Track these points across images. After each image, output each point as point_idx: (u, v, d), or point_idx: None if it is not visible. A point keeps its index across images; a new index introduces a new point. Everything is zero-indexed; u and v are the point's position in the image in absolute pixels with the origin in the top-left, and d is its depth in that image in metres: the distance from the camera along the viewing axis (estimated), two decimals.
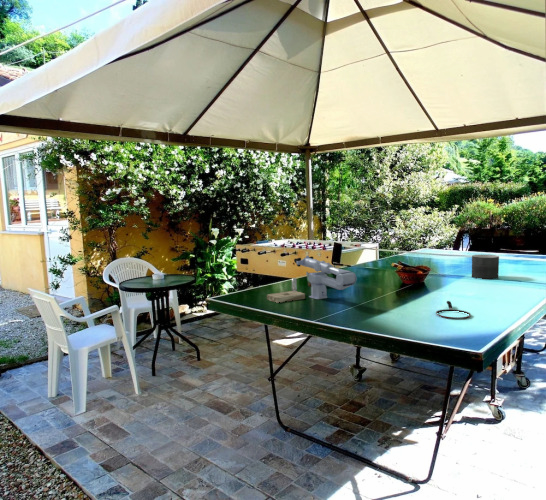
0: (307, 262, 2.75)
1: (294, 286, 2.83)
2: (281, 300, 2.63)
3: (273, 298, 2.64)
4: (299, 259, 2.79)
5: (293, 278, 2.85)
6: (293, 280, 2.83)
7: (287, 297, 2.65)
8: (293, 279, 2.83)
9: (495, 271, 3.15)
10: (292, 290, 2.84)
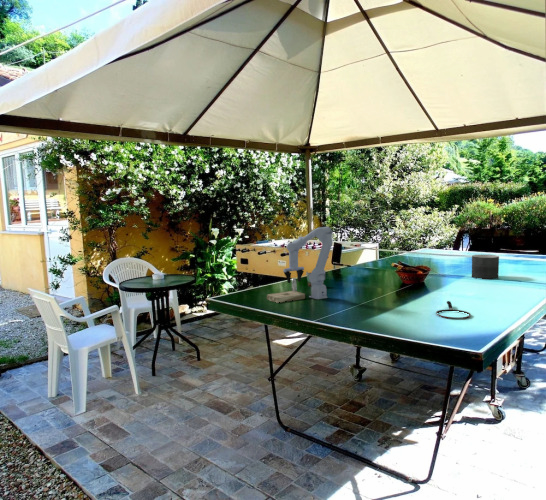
0: (289, 262, 2.82)
1: (294, 286, 2.83)
2: (281, 300, 2.63)
3: (273, 298, 2.64)
4: None
5: (293, 278, 2.85)
6: (293, 280, 2.83)
7: (287, 297, 2.65)
8: (293, 279, 2.83)
9: (495, 271, 3.15)
10: (292, 290, 2.84)
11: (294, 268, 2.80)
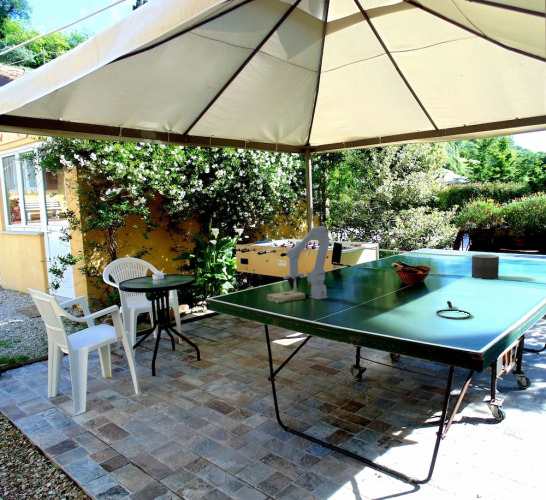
0: (289, 269, 2.83)
1: (294, 286, 2.83)
2: (281, 300, 2.63)
3: (273, 298, 2.64)
4: None
5: (293, 278, 2.85)
6: None
7: (287, 297, 2.65)
8: None
9: (495, 271, 3.15)
10: (292, 290, 2.84)
11: (294, 275, 2.81)
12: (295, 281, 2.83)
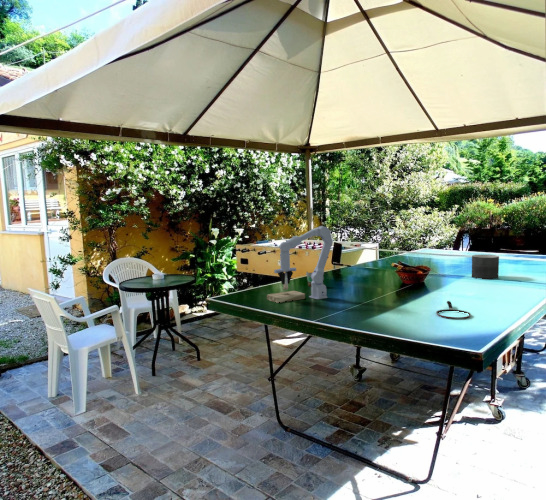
0: None
1: (285, 281, 2.69)
2: (281, 300, 2.63)
3: (273, 298, 2.64)
4: (277, 272, 2.69)
5: None
6: None
7: (287, 297, 2.65)
8: None
9: (495, 271, 3.15)
10: (283, 285, 2.70)
11: (285, 269, 2.67)
12: (286, 276, 2.69)
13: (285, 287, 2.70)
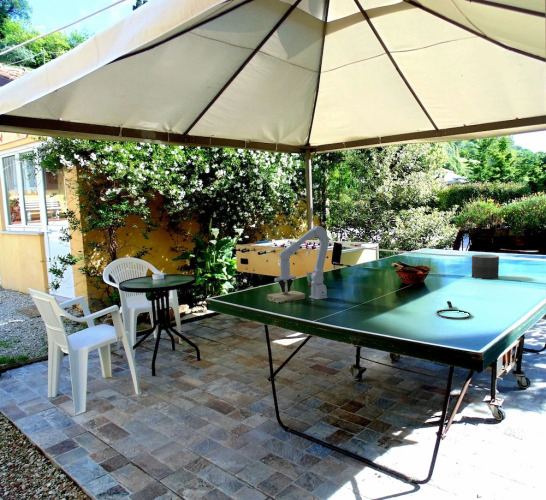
0: None
1: (285, 289, 2.69)
2: (281, 300, 2.63)
3: (273, 298, 2.64)
4: (277, 280, 2.69)
5: (284, 281, 2.71)
6: None
7: (287, 297, 2.65)
8: None
9: (495, 271, 3.15)
10: (283, 293, 2.70)
11: (286, 277, 2.67)
12: (286, 284, 2.69)
13: None
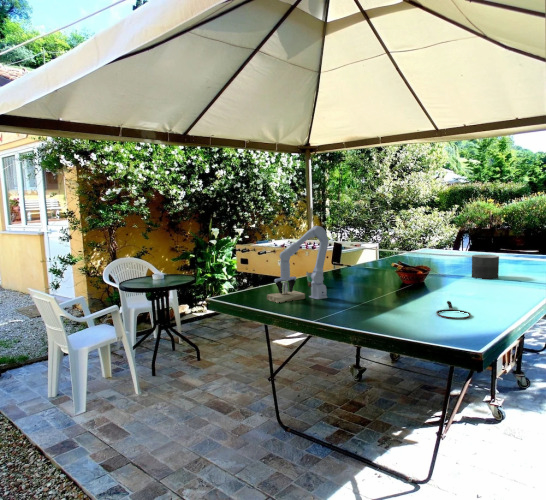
0: None
1: (285, 291, 2.70)
2: (281, 300, 2.63)
3: (273, 298, 2.64)
4: None
5: None
6: (284, 284, 2.69)
7: (287, 297, 2.65)
8: (284, 283, 2.69)
9: (495, 271, 3.15)
10: None
11: (286, 278, 2.67)
12: (286, 285, 2.69)
13: None
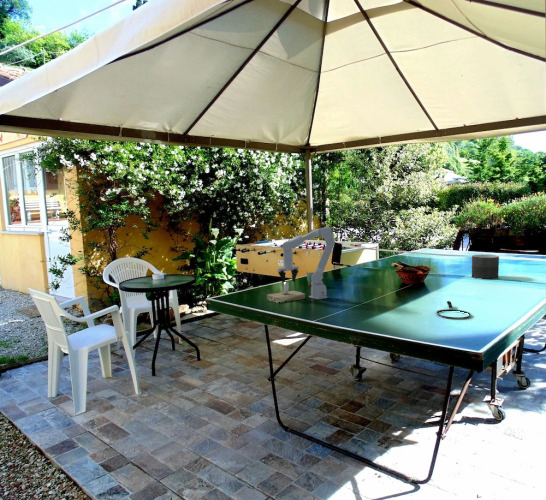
0: None
1: (286, 290, 2.70)
2: (281, 300, 2.63)
3: (273, 298, 2.64)
4: None
5: (285, 282, 2.72)
6: (285, 284, 2.70)
7: (287, 297, 2.65)
8: (285, 283, 2.70)
9: (495, 271, 3.15)
10: None
11: (289, 268, 2.72)
12: (287, 285, 2.70)
13: None
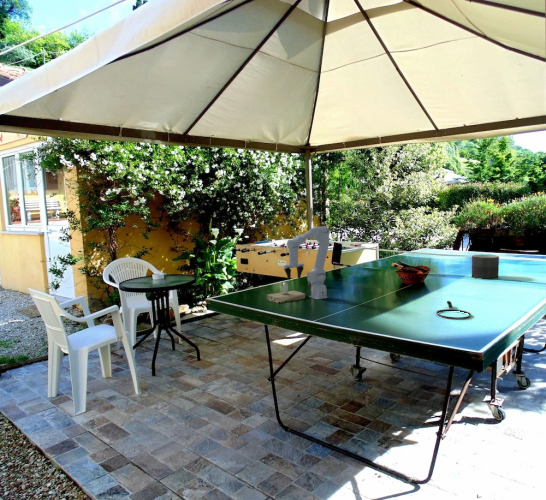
0: (289, 259, 2.86)
1: (285, 291, 2.70)
2: (281, 300, 2.63)
3: (273, 298, 2.64)
4: None
5: None
6: (284, 284, 2.69)
7: (287, 297, 2.65)
8: (284, 283, 2.69)
9: (495, 271, 3.15)
10: None
11: (294, 265, 2.84)
12: (286, 285, 2.69)
13: None
